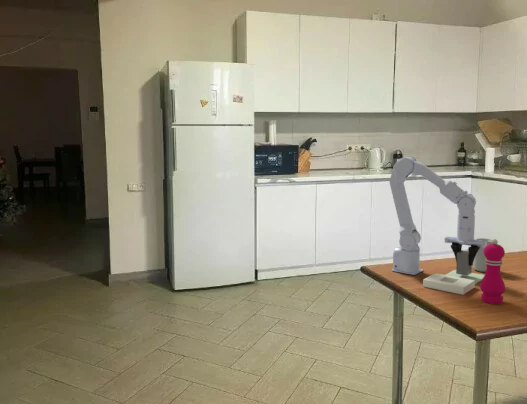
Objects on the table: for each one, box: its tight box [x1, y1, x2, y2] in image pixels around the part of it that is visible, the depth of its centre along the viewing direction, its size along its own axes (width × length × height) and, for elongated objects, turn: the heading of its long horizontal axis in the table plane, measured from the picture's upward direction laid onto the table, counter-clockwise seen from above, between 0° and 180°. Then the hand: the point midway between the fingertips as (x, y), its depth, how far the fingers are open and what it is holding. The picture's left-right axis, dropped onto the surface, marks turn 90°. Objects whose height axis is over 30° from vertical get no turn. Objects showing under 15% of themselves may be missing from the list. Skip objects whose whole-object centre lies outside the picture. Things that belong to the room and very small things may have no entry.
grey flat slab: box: [422, 272, 476, 296], centre depth 171 cm, size 14×10×2 cm
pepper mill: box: [479, 238, 506, 305], centre depth 155 cm, size 7×7×20 cm
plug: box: [455, 249, 473, 276], centre depth 180 cm, size 4×4×8 cm
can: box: [472, 237, 493, 273], centre depth 189 cm, size 8×8×12 cm
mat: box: [445, 269, 485, 285], centre depth 181 cm, size 12×12×1 cm
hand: (464, 264), depth 180 cm, fingers closed on plug, 4 cm apart
